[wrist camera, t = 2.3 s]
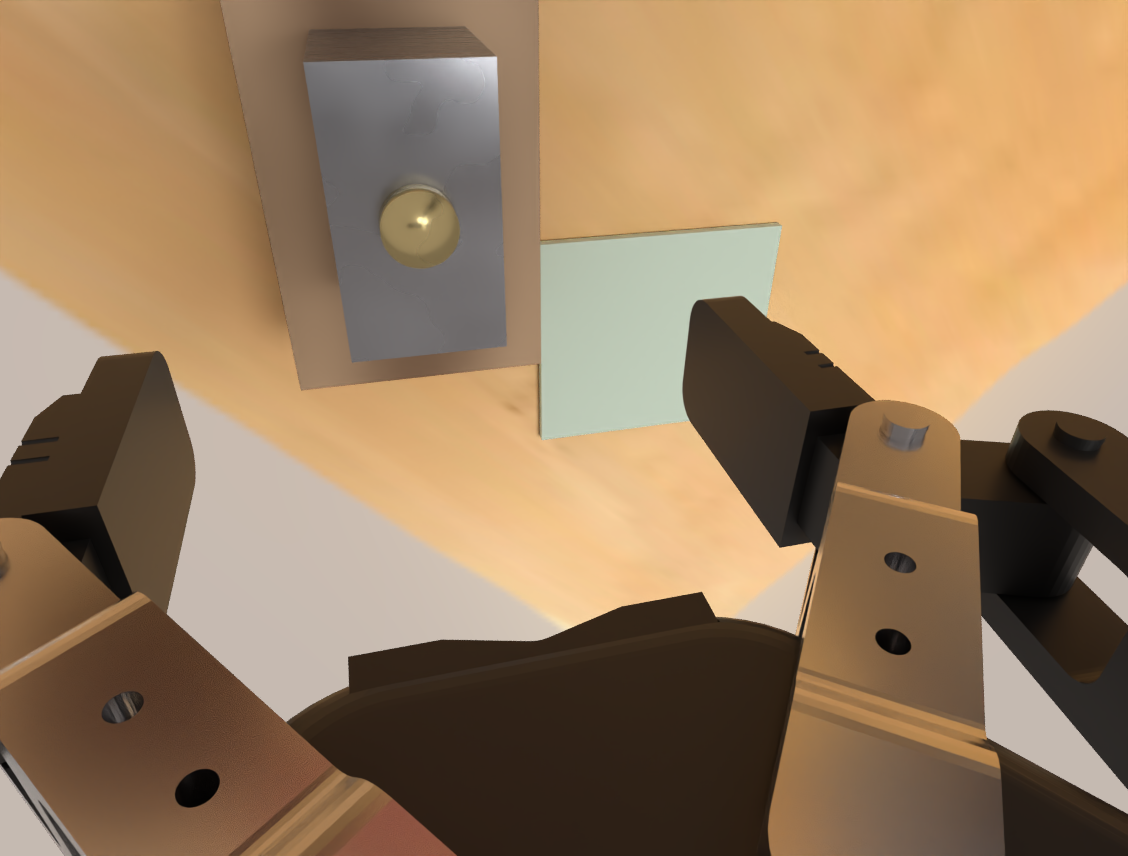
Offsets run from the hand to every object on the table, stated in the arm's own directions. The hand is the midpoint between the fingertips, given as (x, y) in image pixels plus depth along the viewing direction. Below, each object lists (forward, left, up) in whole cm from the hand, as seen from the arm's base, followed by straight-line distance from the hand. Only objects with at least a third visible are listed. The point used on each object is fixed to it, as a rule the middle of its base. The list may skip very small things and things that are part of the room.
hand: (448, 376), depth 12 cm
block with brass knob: (0, 0, -13) cm, 13 cm away
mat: (-10, +9, -18) cm, 22 cm away
